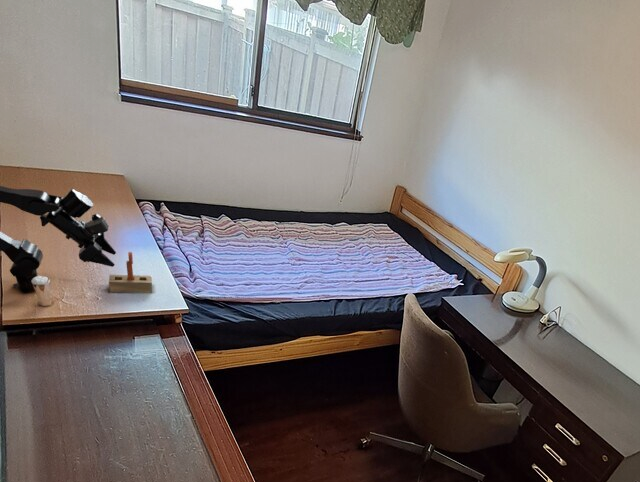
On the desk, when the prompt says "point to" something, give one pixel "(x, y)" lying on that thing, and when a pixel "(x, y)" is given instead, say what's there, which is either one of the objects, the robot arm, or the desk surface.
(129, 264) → the orange piece
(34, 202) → the robot arm
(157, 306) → the desk surface
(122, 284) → the utensil rack
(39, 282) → the milkshake
